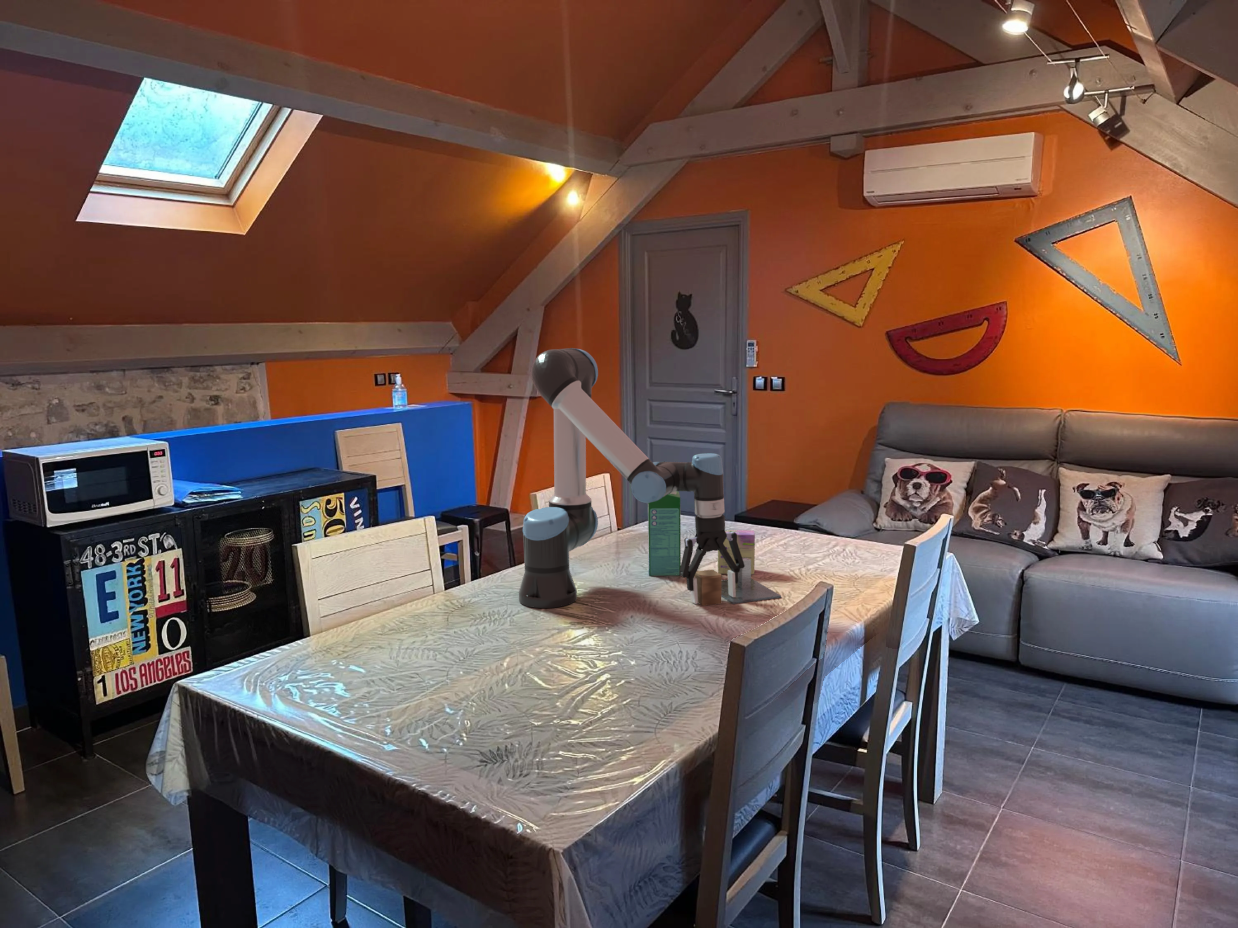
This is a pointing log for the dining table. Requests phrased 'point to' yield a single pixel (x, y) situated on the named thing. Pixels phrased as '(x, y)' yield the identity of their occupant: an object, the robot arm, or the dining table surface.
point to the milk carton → (664, 536)
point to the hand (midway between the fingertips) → (713, 598)
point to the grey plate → (747, 587)
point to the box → (745, 546)
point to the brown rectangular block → (708, 587)
